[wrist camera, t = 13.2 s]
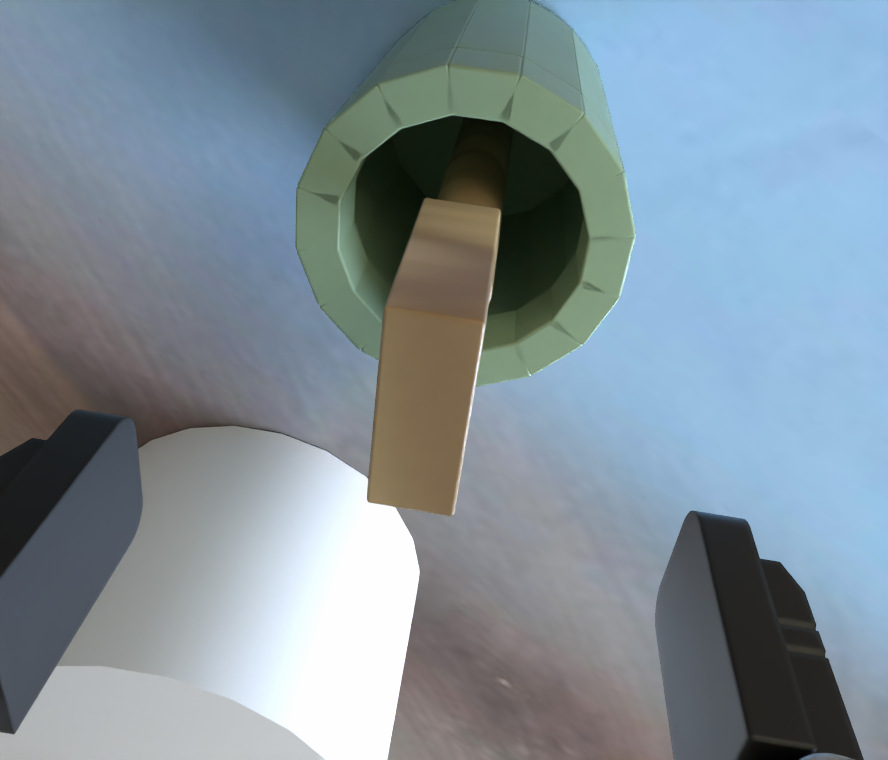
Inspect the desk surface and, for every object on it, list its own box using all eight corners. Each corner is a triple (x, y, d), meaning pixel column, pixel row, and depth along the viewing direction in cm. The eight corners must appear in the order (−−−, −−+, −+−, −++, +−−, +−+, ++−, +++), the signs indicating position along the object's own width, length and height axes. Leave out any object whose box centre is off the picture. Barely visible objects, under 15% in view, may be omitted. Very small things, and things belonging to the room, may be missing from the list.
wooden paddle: (457, 171, 31) (360, 502, 15) (471, 59, 29) (377, 305, 13) (505, 178, 31) (459, 519, 15) (523, 66, 29) (493, 324, 13)
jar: (446, -56, 27) (387, -9, 17) (650, 74, 29) (706, 187, 19) (343, 155, 32) (246, 293, 21) (526, 259, 33) (516, 433, 23)
